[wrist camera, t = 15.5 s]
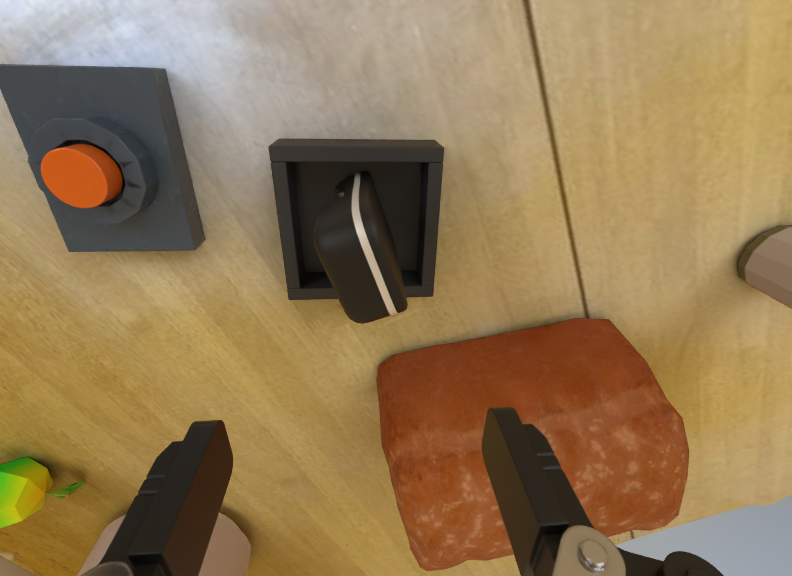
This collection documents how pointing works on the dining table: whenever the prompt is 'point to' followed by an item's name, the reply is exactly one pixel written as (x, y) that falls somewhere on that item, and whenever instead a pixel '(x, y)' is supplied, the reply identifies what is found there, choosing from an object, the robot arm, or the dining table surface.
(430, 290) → the dock
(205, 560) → the container
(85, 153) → the power button
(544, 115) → the dining table surface
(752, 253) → the bottle
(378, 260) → the battery charger
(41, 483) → the apple
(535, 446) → the robot arm
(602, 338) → the bread
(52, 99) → the switch box
